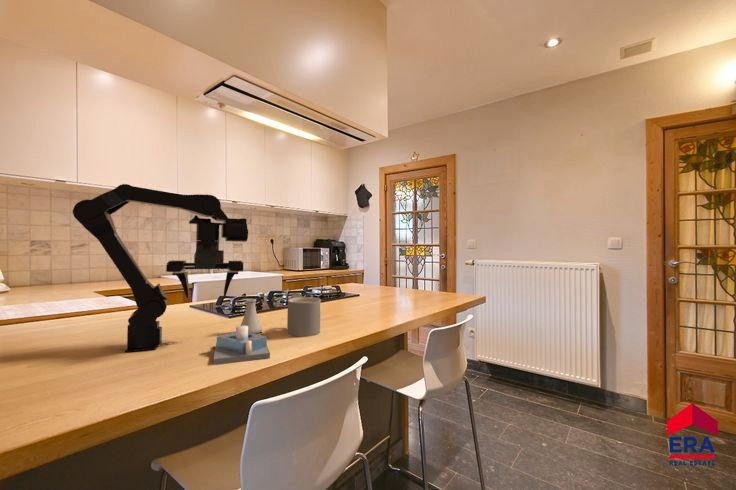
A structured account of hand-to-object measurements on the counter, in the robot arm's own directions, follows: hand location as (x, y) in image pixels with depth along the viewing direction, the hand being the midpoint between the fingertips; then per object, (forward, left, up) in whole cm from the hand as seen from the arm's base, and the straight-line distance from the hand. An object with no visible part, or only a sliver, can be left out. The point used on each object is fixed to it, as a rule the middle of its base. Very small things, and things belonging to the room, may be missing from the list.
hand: (206, 297), depth 90 cm
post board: (+9, -14, -12) cm, 20 cm away
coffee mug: (+27, +1, -12) cm, 30 cm away
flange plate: (+9, -14, -11) cm, 20 cm away
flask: (+12, +5, -12) cm, 18 cm away
